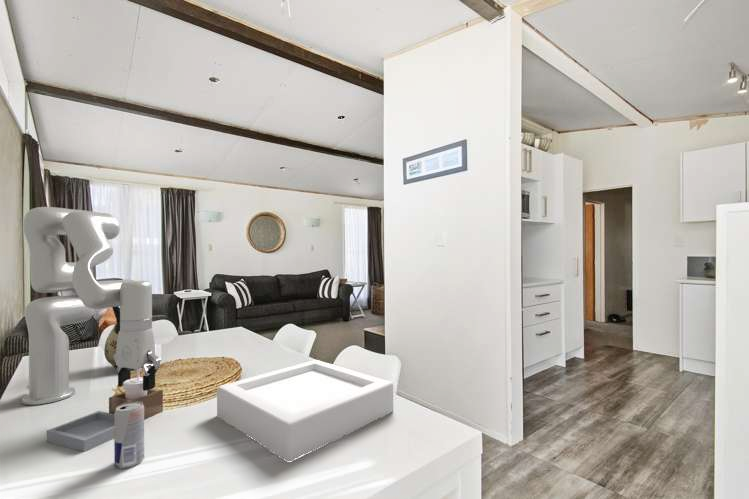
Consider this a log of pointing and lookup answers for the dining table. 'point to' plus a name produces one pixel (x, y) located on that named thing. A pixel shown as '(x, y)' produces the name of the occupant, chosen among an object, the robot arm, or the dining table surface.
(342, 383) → the tray
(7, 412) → the dining table surface
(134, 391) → the smoothie
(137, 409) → the energy drink
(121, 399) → the deep holder
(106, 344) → the ceramic jug
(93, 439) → the slate tray
